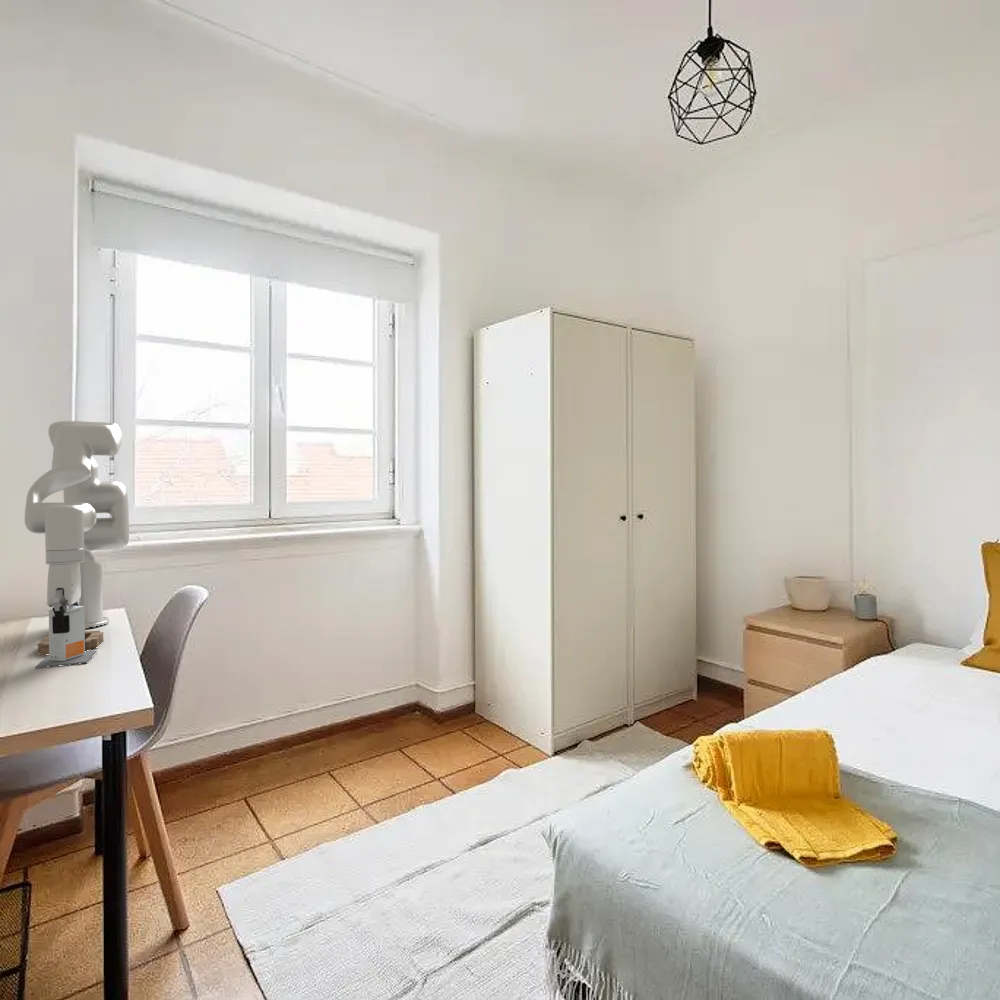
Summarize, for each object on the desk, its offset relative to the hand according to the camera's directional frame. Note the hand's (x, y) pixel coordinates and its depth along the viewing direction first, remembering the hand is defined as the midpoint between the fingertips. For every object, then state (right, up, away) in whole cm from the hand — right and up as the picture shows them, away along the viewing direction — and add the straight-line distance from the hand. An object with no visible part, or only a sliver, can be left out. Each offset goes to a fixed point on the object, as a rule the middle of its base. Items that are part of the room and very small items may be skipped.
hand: (67, 628), depth 147 cm
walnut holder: (-7, -7, +11) cm, 15 cm away
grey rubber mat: (0, -8, 0) cm, 8 cm away
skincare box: (0, -7, 0) cm, 7 cm away
